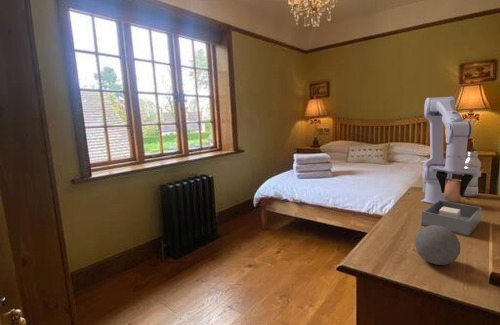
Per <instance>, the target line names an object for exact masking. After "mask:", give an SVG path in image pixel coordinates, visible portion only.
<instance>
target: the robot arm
mask: <svg viewBox="0 0 500 325" xmlns="http://www.w3.org/2000/svg"><path fill="white" fill-rule="evenodd" d="M423 108H424V109H423V110H424V111H423V112H424V113H423V115H424V119H425V120H427V121H428V124H429V154H430V155H429V158H428V159H426V160H425V161H424V162H423V164H422V168H421V169H422V171H421V174H422V175H421V177H422V180H423V179H424V180H426V189H425V193H424V198H422V199H421V200H420V202H422V203H427V204H428V203H429V204H431V205H432V204H433V203H435V202H436V201H438V200H441V201H447V200H445V199H444V188H445V179H453V175H459V176H460V175H462V176H461V177H460V180H461V191H460V196H461V197H463V196H465V195H464V193H465V190H466V188H467V186H468V184H469V182H470V181H471V179H472V178H473V177H474V176H476V177H478V178H481V177H482V170H481V169H480V170H473V169H466V168H465V163H466V158H467V151H468V150H467V149H468V142H469V141H468V139H469V138H471V136H472V133H473V125H472V123H471V120H464V118H463V117H462V115H461V113H460V112H459V111H457V110H455V108H456V99H455V97H454V96H442V97H440V96H439V97H426V98H425V101H424V106H423ZM444 127H445V129H444ZM444 130H445V143H446V149H445V150H446V151H445V158H444ZM429 165H439V166H429ZM463 175H464V176H463ZM447 202H448V201H447Z"/></svg>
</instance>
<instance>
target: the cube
mask: <svg viewBox="0 0 500 325" xmlns="http://www.w3.org/2000/svg"><path fill="white" fill-rule="evenodd" d="M439 215H443V216H448V217H453V218H458V219H460V209H454V208H449V207H444V206H443V207H442V208H441V209H440V210H439Z"/></svg>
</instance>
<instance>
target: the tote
mask: <svg viewBox="0 0 500 325" xmlns="http://www.w3.org/2000/svg"><path fill="white" fill-rule="evenodd" d="M443 206H444V207H449V208H454V209H460V219H458V218H453V217H448V216H443V215H439V210H440V209H441V208H442V207H443ZM482 210H483V207H480V206H475V205H468V204H464V203H458V202H454V201H441V200H438V201H436V202H435V203H433V204H432V203H431V205H429V206H428V207H426V208H425V209H424V210H422V211H421V223H420V224H421V226H423V227H426V226H431V225H438V226H442V227H445V228H447V229H449V230H450V231H452V232H453V233H454V234H455V235H459V236H463V237H467V238H468V237H469V236H470V235H471V234H472V233H473V231H474V230H476V227H477V226H478V225H479V224H480V222H481V220H482Z"/></svg>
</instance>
